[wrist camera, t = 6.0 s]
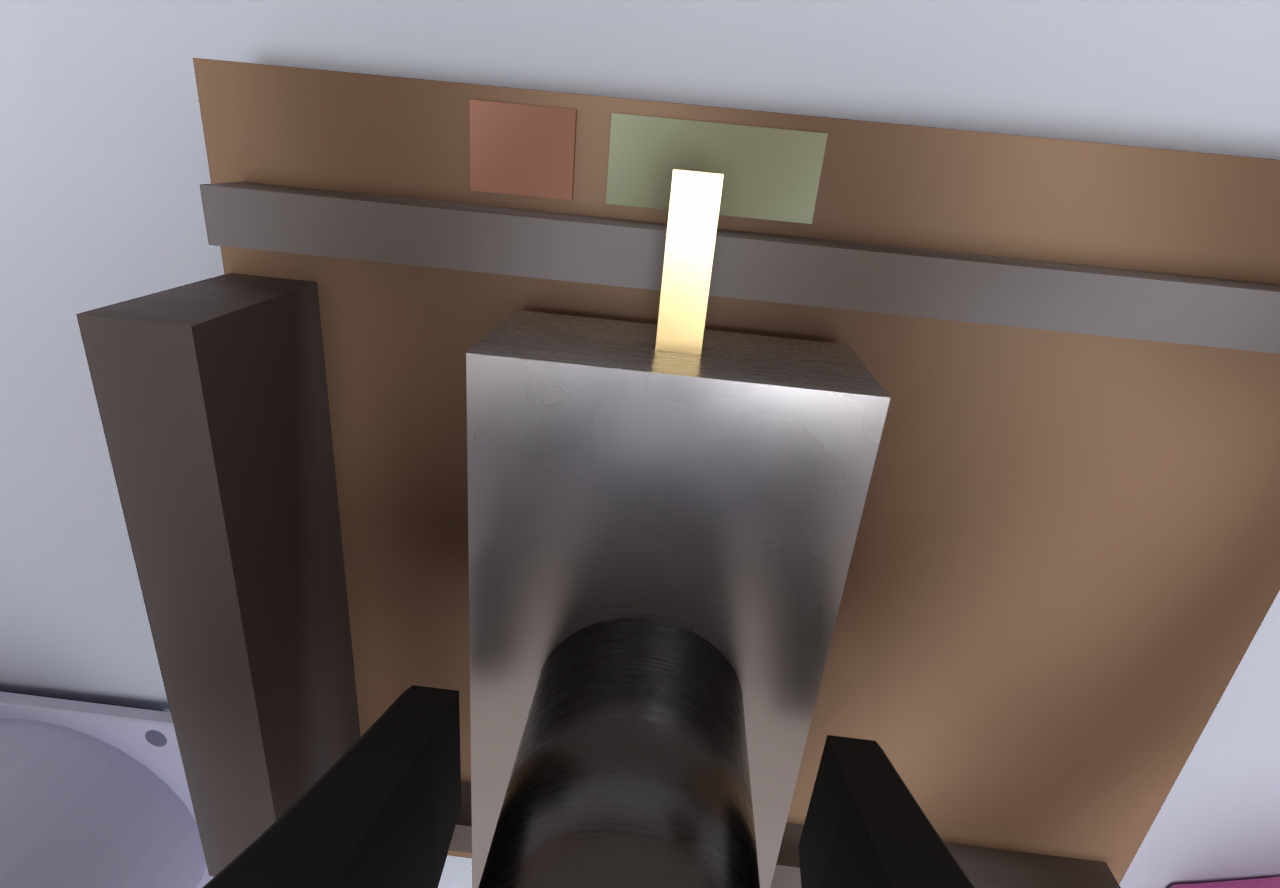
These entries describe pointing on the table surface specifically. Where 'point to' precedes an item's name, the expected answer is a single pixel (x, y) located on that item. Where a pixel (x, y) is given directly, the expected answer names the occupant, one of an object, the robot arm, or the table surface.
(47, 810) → the robot arm
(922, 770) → the press base
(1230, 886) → the gum box
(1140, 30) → the table surface
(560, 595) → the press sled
